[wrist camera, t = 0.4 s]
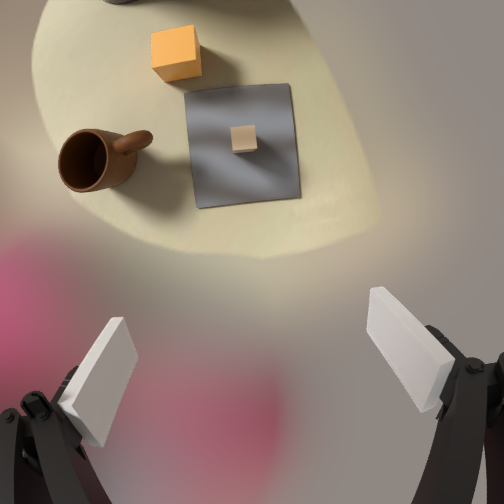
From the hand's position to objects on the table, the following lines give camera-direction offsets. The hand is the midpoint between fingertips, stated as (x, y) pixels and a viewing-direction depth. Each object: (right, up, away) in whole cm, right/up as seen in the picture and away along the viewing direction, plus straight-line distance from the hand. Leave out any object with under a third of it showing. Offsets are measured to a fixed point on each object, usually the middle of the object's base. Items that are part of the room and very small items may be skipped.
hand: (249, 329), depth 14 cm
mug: (-17, +17, +21) cm, 32 cm away
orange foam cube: (-9, +30, +17) cm, 36 cm away
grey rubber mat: (-1, +18, +21) cm, 28 cm away
